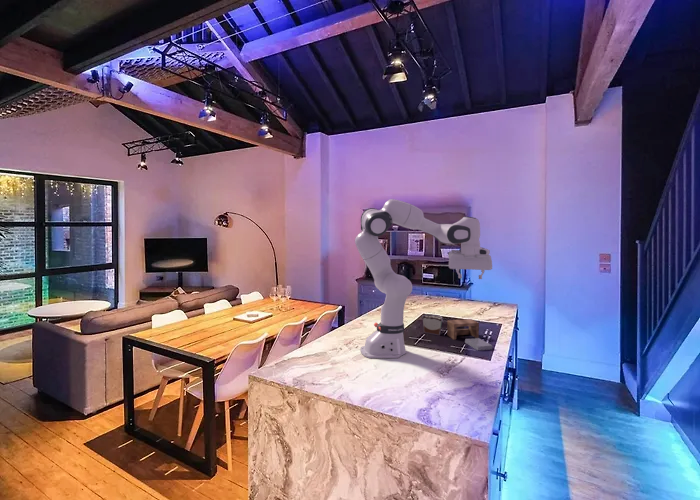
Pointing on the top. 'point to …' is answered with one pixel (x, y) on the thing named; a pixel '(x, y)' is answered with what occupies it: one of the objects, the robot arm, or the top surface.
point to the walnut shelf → (453, 330)
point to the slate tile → (478, 344)
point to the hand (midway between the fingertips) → (470, 278)
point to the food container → (432, 324)
